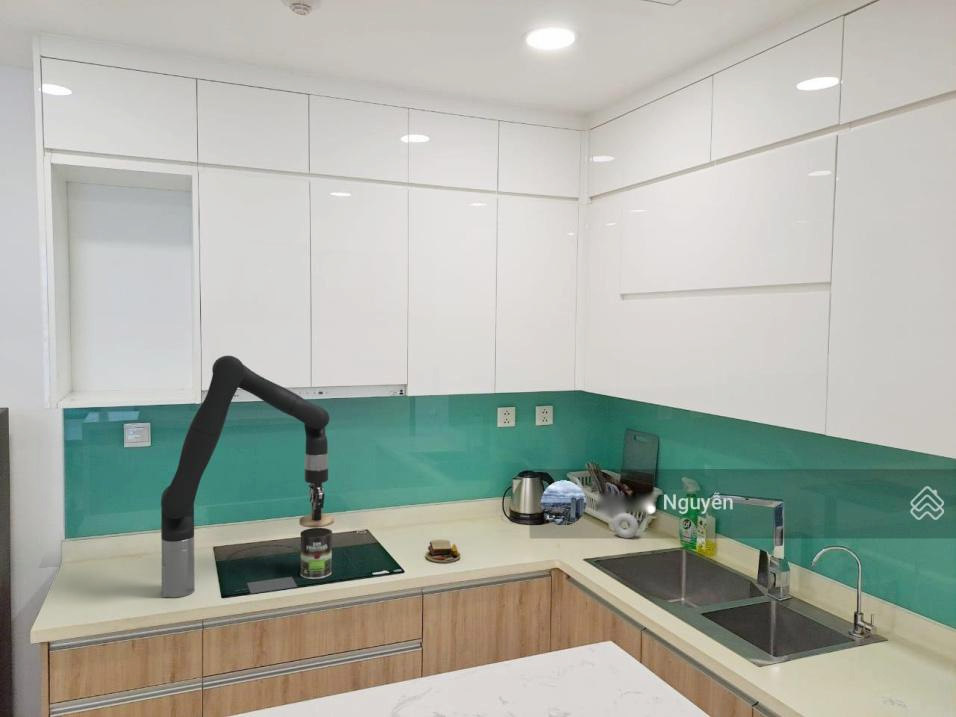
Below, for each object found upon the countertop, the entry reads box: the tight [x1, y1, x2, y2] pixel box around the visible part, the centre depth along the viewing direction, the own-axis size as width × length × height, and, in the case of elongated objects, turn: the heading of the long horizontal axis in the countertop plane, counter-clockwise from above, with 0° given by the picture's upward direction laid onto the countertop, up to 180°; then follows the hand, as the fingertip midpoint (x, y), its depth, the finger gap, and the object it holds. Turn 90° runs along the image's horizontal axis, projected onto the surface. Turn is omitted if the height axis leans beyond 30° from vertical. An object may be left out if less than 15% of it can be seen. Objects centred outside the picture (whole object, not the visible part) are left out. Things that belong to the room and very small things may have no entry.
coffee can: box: [299, 527, 333, 580], centre depth 228 cm, size 10×10×14 cm
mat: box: [246, 576, 298, 594], centre depth 218 cm, size 14×9×1 cm, turn 115°
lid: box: [298, 506, 335, 529], centre depth 228 cm, size 11×11×5 cm
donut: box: [612, 512, 639, 539], centre depth 272 cm, size 10×4×10 cm, turn 66°
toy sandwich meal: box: [425, 539, 461, 564], centre depth 247 cm, size 12×14×5 cm
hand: (316, 518), depth 228 cm, fingers closed on lid, 3 cm apart
